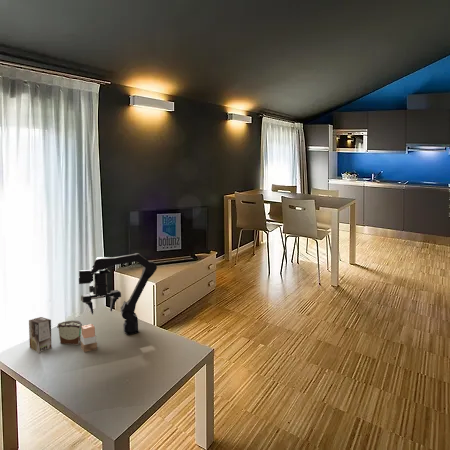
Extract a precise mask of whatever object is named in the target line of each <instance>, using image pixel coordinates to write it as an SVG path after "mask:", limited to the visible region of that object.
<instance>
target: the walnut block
mask: <svg viewBox="0 0 450 450" xmlns="http://www.w3.org/2000/svg"><path fill="white" fill-rule="evenodd" d="M97 342H98V341H96V343H91V344H87V345H84V344H83V343H82V342H81V341H80V348H81V350H82V353H87V352H91V351H96V350H98V343H97Z"/></svg>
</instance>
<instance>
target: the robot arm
mask: <svg viewBox="0 0 450 450" xmlns="http://www.w3.org/2000/svg"><path fill="white" fill-rule="evenodd" d="M134 262H137V263H138V264H139V265H141V266H143V267H142V272H141V275H140V277H139V280H138V282H137V283H136V286H135V287H134V289H133V291H132V293H131V295H130V297H129V299H128V300H127V301H123V303H122V304H121V307H120V314H121V317H122V319H124V323H123V332H124V333H125V334H126V335H132V334H136V333H140V330H139V317H138V315H137V314H136V312H135V310H136V306H137V303H138V300H139V299H140V297H141V295H142V293H143V291H144V288H145V287H146V285H147V283H148V281H149V279H151V277H153V275H154V274H155V272H156V271H157V267H158V266H157V264H156V263H155V262H154V261H153V260H148V259H147V258H145V257H144V256H143V255H141V254H140V253H138V252H135V253H132V254H125V255H120V256H113V257H112V256H111V257H110V256H107V257H106V256H98V257H96V258H95V259H94V261H93V266H91V268H90V269H84V270H82V269H81V270H78V284H79V285H85V284H92V283H93V282H94V285H90V286H88V292H89V293H87V294H81V295H80V301H81V302H82V303H85V304H86V305H88V308H89V311H90V313H91V315H94V306H93V301H92V300H95V299H102V298H109V299H110V303H109V304H110V307H109V308H110V312H112V311H113V309H114V307H115V304H116V302H117V300H119V298H122V292H121V291H120V290H118V289H115V290H110V292H108V279H107V277H108V276H107V275H108V274H111V270H109V269H108V268H111V267H112V266H119V265H122V264H130V263H134ZM91 293H93V294H92V295H91Z"/></svg>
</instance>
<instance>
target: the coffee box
mask: <svg viewBox="0 0 450 450" xmlns="http://www.w3.org/2000/svg"><path fill="white" fill-rule="evenodd" d="M28 333H29V334H28V335H29V336H28V337H29V338H28V339H29V348H30V349H31V350H33V351H34V352H36V353H38V354H41V352H43V351H46V350H49V349H52V348H53V347H52V319H50V318H46V317H44V316H39V317H35V318H32V319H29V320H28Z"/></svg>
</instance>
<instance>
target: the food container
mask: <svg viewBox="0 0 450 450" xmlns="http://www.w3.org/2000/svg"><path fill="white" fill-rule="evenodd" d="M81 326H83V323H82V322H81V321H80V320H67V321H66V320H65V321H62V322H59V323H57V329H58V334H59V341H60V344H66V345H77V346H78V345H81V335H82V329H81Z"/></svg>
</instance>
